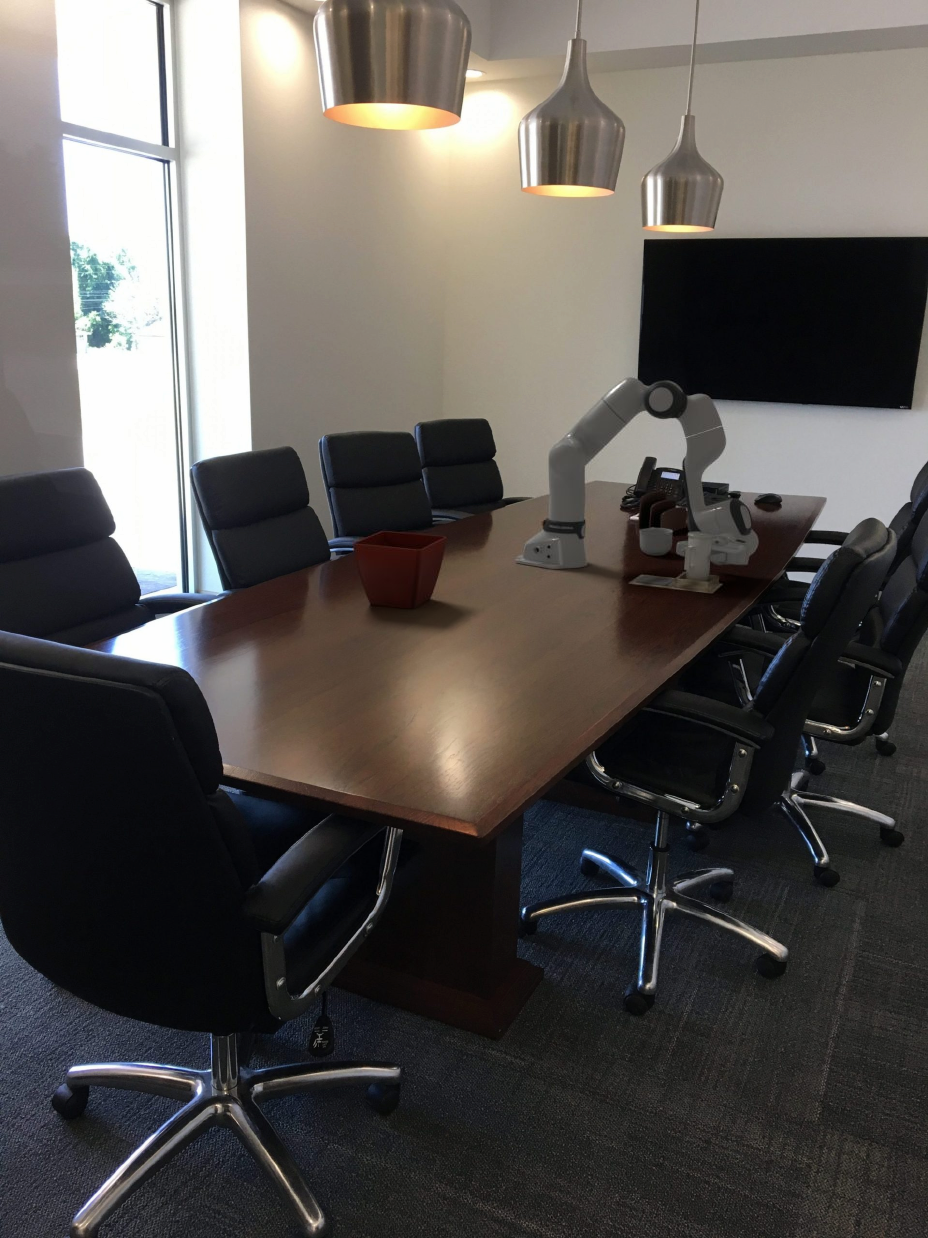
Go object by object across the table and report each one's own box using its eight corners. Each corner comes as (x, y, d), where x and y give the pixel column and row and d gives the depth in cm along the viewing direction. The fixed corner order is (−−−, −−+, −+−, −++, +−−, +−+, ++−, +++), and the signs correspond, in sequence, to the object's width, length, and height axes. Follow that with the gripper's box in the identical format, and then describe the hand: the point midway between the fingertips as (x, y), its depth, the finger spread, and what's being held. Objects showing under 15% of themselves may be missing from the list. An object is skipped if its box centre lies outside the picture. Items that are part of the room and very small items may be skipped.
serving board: (627, 587, 286) (628, 574, 285) (641, 578, 297) (641, 566, 296) (712, 597, 276) (713, 584, 275) (722, 587, 287) (723, 575, 286)
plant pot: (419, 614, 254) (420, 549, 249) (352, 606, 260) (351, 542, 256) (447, 597, 271) (447, 536, 267) (382, 590, 277) (382, 530, 273)
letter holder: (637, 531, 373) (639, 493, 369) (662, 525, 388) (665, 488, 384) (661, 535, 367) (663, 496, 363) (686, 528, 382) (688, 491, 378)
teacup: (671, 558, 327) (672, 533, 324) (637, 556, 329) (639, 532, 326) (671, 549, 340) (673, 526, 338) (639, 548, 342) (640, 524, 340)
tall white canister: (692, 582, 288) (696, 530, 284) (713, 586, 284) (717, 533, 280) (674, 587, 281) (678, 534, 277) (695, 591, 277) (699, 538, 273)
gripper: (691, 533, 296) (666, 539, 286) (754, 543, 283) (730, 550, 273) (689, 554, 298) (664, 561, 288) (752, 565, 284) (728, 572, 275)
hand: (697, 555), depth 280 cm, fingers open, 8 cm apart
